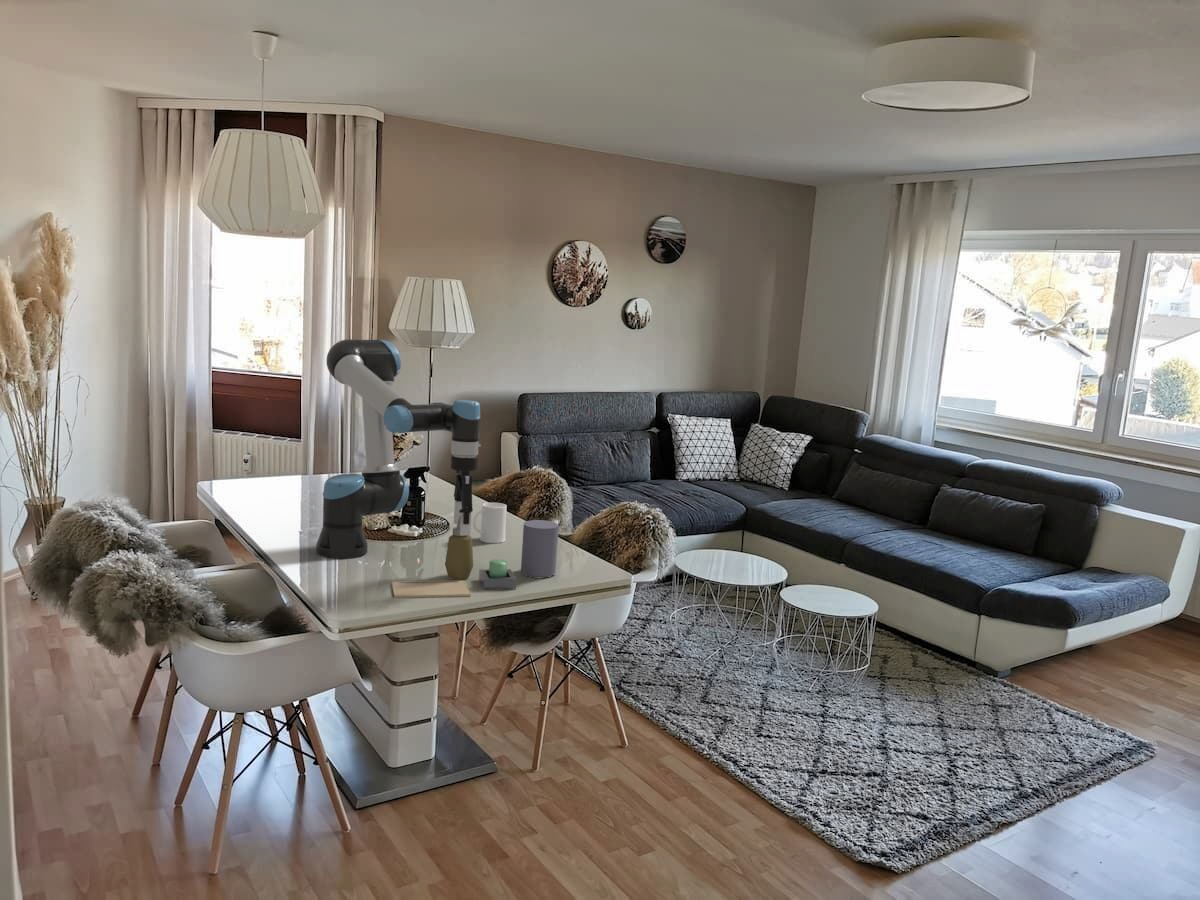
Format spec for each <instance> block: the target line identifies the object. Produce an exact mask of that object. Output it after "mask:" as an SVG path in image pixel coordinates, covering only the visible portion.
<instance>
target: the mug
mask: <svg viewBox="0 0 1200 900" xmlns="http://www.w3.org/2000/svg"><path fill="white" fill-rule="evenodd" d="M507 506H508V505H507V504H505V503H501V502H484V503H482V506H481V507H482V508H481V509H480V510H479V511H478V512H476V513H475V516H474V518H473V521H472V523H473V524H472V525H473V528H474V529H475V531H476V532H478V533H479V534H480V537H479V540H480V541H481V542H482V543H486V544H501V543H500V542H502V543H504V541H505V542H506V525H507V524H506V521H507ZM480 514H481V522H480V525H481V526H480V529H479V528H478V527H477V526H476V520H477V517H479V515H480Z"/></svg>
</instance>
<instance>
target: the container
mask: <svg viewBox="0 0 1200 900" xmlns="http://www.w3.org/2000/svg"><path fill="white" fill-rule="evenodd" d="M559 526H560V525H559V524H558V522H555V521H551V520H542V519H532V520H526V521H524V522H523V527H522V528H523V529H522V530H523V531H522V543H521V545H522V547H521V560H520V561H521V563H520V573H521V574H522V575H524V576H526V575H527V576H526V577H529V576H531V577H530V578H533V577H548V578H550V577H549V576H552V575H553V576H555V575H556V572H557V571H556V570H557V557H558V556H557V555H558V542H559ZM554 574H555V575H554ZM553 576H552V577H553Z"/></svg>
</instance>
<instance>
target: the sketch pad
mask: <svg viewBox="0 0 1200 900" xmlns="http://www.w3.org/2000/svg"><path fill="white" fill-rule="evenodd" d="M391 586H392V593H393V598H394V599H400V598H401V599H404V598H405V599H406V598H408V599H409V598H410V599H411V598H447V597H449V598H451V597H456V598H457V597H460V598H461V597H471V593H470V589H469V588H468V585H467V584H466V581H465V580H419V581H418V580H417V581H415V580H414V581H403V580H402V581H391Z"/></svg>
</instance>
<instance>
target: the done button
mask: <svg viewBox="0 0 1200 900" xmlns="http://www.w3.org/2000/svg"><path fill="white" fill-rule="evenodd" d="M488 568H489V578H495V577H507V569H508V560H507V561H506V560H504V559H490V561H489V567H488Z"/></svg>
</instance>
